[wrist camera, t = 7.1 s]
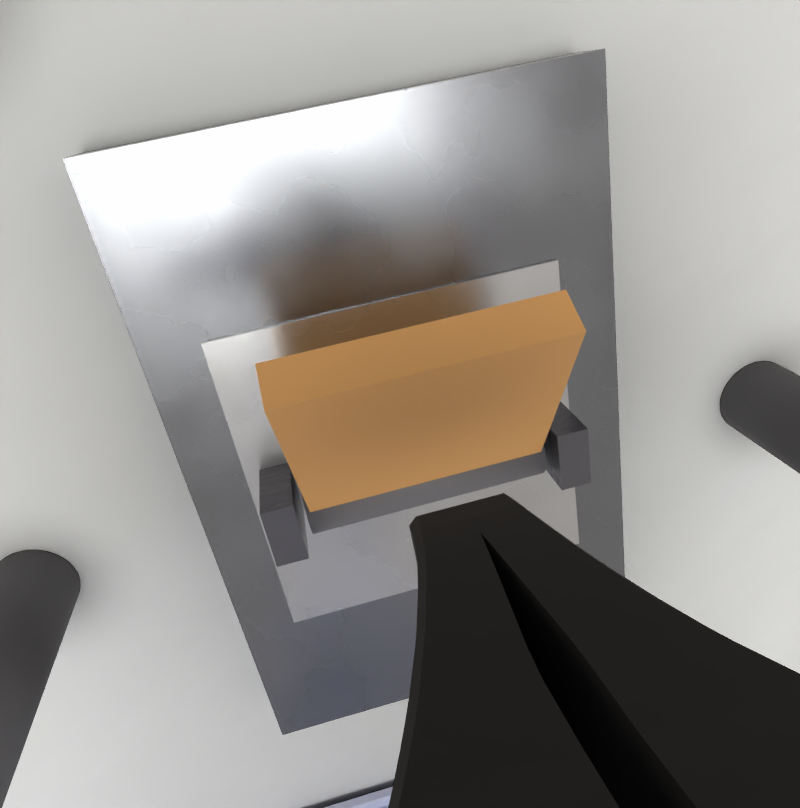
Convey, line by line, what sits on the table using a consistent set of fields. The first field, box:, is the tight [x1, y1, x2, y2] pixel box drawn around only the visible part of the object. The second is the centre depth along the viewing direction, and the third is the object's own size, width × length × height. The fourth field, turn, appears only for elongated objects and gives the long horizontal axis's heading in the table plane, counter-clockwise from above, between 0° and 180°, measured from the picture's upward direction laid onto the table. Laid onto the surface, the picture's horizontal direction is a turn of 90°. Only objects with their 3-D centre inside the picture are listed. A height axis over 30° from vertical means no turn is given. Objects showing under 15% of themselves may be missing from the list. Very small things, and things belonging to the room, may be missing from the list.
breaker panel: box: [63, 49, 625, 735], centre depth 18 cm, size 18×12×4 cm, turn 10°
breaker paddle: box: [255, 290, 586, 534], centre depth 15 cm, size 2×6×7 cm
